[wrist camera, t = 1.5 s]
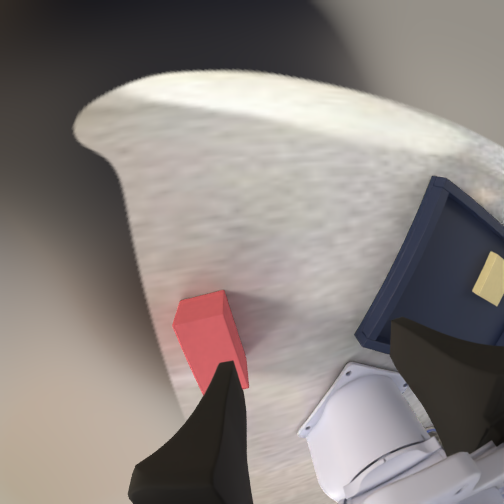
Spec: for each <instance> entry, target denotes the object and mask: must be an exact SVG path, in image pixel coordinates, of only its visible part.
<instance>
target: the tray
mask: <svg viewBox="0 0 504 504" xmlns="http://www.w3.org/2000/svg"><path fill="white" fill-rule="evenodd" d="M490 251H492V252H494V253H496V254H498V255H499V256H500V257H501V258H503V259H504V226H503V225H502V224H500V223H499V222H498V221H497V220H496V219H495V218H494V217H493V216H492V215H491V214H489V213H488V212H487V211H486V210H485V209H484V208H483V207H481V206H480V205H479V204H478V203H477V202H476V201H474V200H473V199H472V198H471V197H470V196H468V195H467V194H466V193H465V192H464V191H462V190H461V189H460V188H459V187H457V186H456V185H455V184H454V183H452V182H451V181H450V180H448V179H447V178H443V177H437V176H432V177H431V180H430V183H429V185H428V188H427V190H426V193H425V195H424V198H423V200H422V202H421V205H420V207H419V209H418V212H417V214H416V216H415V219H414V221H413V223H412V225H411V228H410V230H409V232H408V234H407V236H406V239H405V241H404V243H403V245H402V247H401V249H400V251H399V253H398V255H397V257H396V259H395V261H394V263H393V265H392V267H391V269H390V271H389V273H388V275H387V277H386V279H385V281H384V283H383V285H382V287H381V289H380V290H379V292H378V294H377V296H376V298H375V300H374V301H373V303H372V305H371V307H370V309H369V310H368V312H367V314H366V316H365V317H364V319H363V321H362V322H361V324H360V326H359V328H358V329H357V331H356V333H355V334H354V335H355V337H356V338H357V340H358V341H359V343H360V344H361V346H362V347H365V348H368V349H372V350H375V351H379V352H383V353H386V354H390V341H391V320H394V319H397V318H400V317H405V318H408V319H410V320H413V321H415V322H417V323H420V324H422V325H424V326H426V327H429V328H431V329H434V330H436V331H439V332H441V333H444V334H446V335H449V336H452V337H455V338H458V339H462V340H466V341H470V342H474V343H479V344H485V345H493V346H504V294H503V296H502V298H501V300H500V302H499V304H498V306H495V305H494V304H492V303H490V302H489V301H487V300H485V299H483V298H482V297H480V296H478V295H477V294H475V293H474V292H472V290H473V288H474V286H475V284H476V282H477V280H478V278H479V276H480V273H481V271H482V269H483V267H484V265H485V263H486V260H487V258H488V256H489V253H490Z"/></svg>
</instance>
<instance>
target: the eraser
mask: <svg viewBox="0 0 504 504" xmlns="http://www.w3.org/2000/svg"><path fill="white" fill-rule="evenodd" d="M172 326H173V329H174V331H175V333H176V336H177V338H178V341H179V343H180V345H181V348H182V350H183V352H184V354H185V357H186V359H187V361H188V363H189V366H190V368H191V370H192V372H193V374H194V377H195V379H196V381H197V383H198V385H199V387H200V389H201V391H202V394H203V396H204V394H205V392H206V390H207V388H208V386H209V384H210V382H211V380H212V378H213V376H214V373H215V371H216V369H217V366H218V364H219V363H221V362H226V361H232V360H234V364H235V367H236V370H237V373H238V377H239V380H240V383H241V386H242V389H246V388H249V381H248V371H247V361H246V356H245V353H244V350H243V347H242V344H241V341H240V338H239V335H238V332H237V329H236V325H235V322H234V319H233V316H232V313H231V310H230V307H229V303H228V300H227V297H226V294H225V291H224V290H221V291H217V292H213V293H209V294H205V295H201V296H197V297H193V298H189V299H185V300H181V301H180V303H179V306H178V309H177V312H176V315H175V318H174V322H173V325H172Z"/></svg>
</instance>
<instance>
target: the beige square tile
mask: <svg viewBox="0 0 504 504" xmlns="http://www.w3.org/2000/svg"><path fill="white" fill-rule="evenodd" d="M472 292H474V293H475V294H477V295H478V296H480V297H482V298H483V299H485V300H487V301H489V302H490V303H492V304H494V305H495V306H498V304H499V302H500V300H501V298H502V296H503V294H504V259H503V258H501V257H500V256H499V255H498V254H496V253H494V252H492V251H490V253H489V256H488V258H487V260H486V263H485V265H484V267H483V269H482V271H481V273H480V276H479V278H478V280H477V282H476V284H475V286H474V288H473V290H472Z"/></svg>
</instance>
